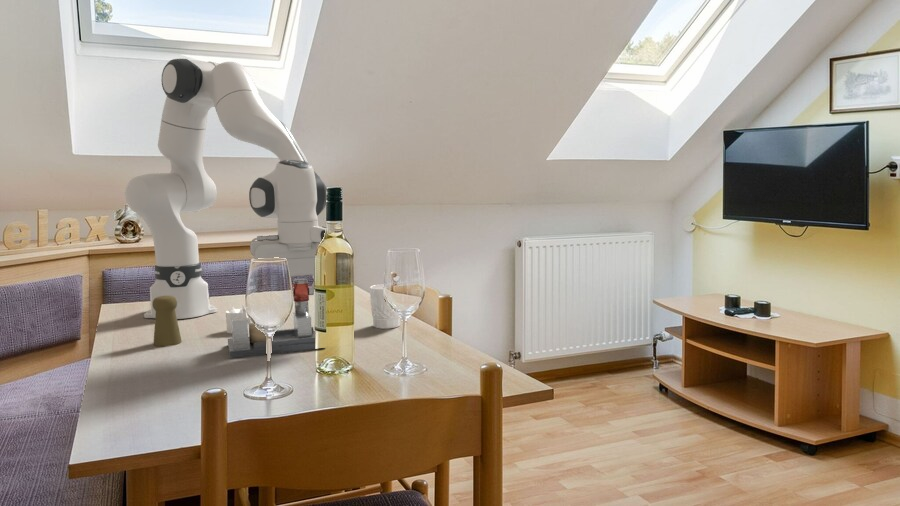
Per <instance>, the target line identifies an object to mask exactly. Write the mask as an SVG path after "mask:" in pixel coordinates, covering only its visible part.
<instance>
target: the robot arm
mask: <svg viewBox="0 0 900 506" xmlns="http://www.w3.org/2000/svg"><path fill="white" fill-rule="evenodd" d="M161 86H162V89H163V90H162V91H164V94H165V96H166V98H165V102H164V105H163V107H162V108H163V109H162V112H161V113H162V114H161V119H160V126H159V133H158V143H157V147H158V150H159V152H160V154H162V156H164V158H165V159H167V160H169V161H170V172H169V173H167V172H164V173H162V172H161V173H159V172H157V173H154V172H153V173H146V174H143V175H138V176H134V177H132V178H131V179H130V180H129V181H128V183H127V185H126V188H125V192H124V193H125V194H124V196H125V201H126V203H127V205H128V207H129V208H130V210H132V211H133V212H135V213H136V214H137V215H139V217H141V218H142V220H143V221H144V222H145V223H146V225H147V227H148V229H149V231H150V234H151V236H152V241H153V247H154V255H155V257H154V258H155V265H154V270H153V272H154V279H155V281H154V283H152V284H151V286H150V287H149V295H150V297H149V298H150V300H149V301H150V302H149V303H150V309H149V310H148V311H146V312H145V313H143V318H145V319H155V315H156V311H155V310H154V308H153V300H154V299H155V298H156V297H159V296H165V295H168V296H174V297H175V298H176V300H177V307H176V308H175V312H176V317H177V320H183V319H190V318H197V317H201V316H205V315H207V314H212V313H217V312H218V308H217V307H216V306H215V305H213V304H212V303H210V298H211V297H210V294H209V284H208V282H207V281H206V280H205V279H203V278H202V271H203V268H202V263H201V262H200V255H199V253H200V252H199V239H198V238H199V237H198V236H197V234H196V232H194V230H192V229H190V228H188V227H186V226H185V223H183V221H182V218H181V214H187V213H197V212H200V211H204V210H207V209H209V208H211V207H213V205H214V204H215V202H216V201H217V196H218V190H217V186H216V183H215V182H214V180H213V179H212V178H211V176H209V174H208V173H207V171H206V168H205V165H204V157H203V153H204V143H205V136H206V129H207V122H208V115H209V111H210V110H211V109H212V108H213V107H214V108H215V109H214V110H215V111H216V114H217V117H218V120H219V122H220V123H221V125H222V127H223V129H224V130H225V131H226V133H227V134H228V135H229V136H231V137H233V138H234V139H236V140H238V141H241V142H243V143H244V142H245V143H247V144H252V145H256V146H258V147H261V148H264V149H265V150H268V151H270V152H272V153H273V154H274V155H275V156H276V157H277V158H278V160H279V161H278V162H277V163H276V165H275V169H274V170H272V171H271V172H269V173H268V174H266V175H264V176H261V177H258V178H257V179H255V180H254V181H253V183H252V184H251V186H250V188H249V194H248V196H249V198H248V199H249V204H250V207H251V209H252V211H254V213H256V215H257V216H259V217H260V218H266V219H274V218H275V219H277V223H276V224H277V234H272V235H271V234H270V235H257V236H256V237H255V238H253V239H252V240H251V241H250V243H249V247H250V248H249V250H250V254H251V255H252V257H253V258H252V260H253V259H258V258H274V257H279V258H286V259H287V261H288V265H289V270H290V276H291V277H305V276H306V277H307V276H312V279H313V280H314V262H315V254H316V250H317V247H318V245H319V244H320V242H321V241H322V239H323V237H324V233H325V228H327V227H326V226H320V225H319V218H318V216H319V215H320V214H321V213H322V212H323V211H324V210H325V208H326V206H327V204H326V190H327V191H328V187H327V185H326V183H325V182H324V181H323V179H322V178H321V177H320V176H319V174H318V173H317V172H316V171H315V169H314V167H313V165H312V164H311V163H310V162H309V161H308V159H307V157H306V155H305V154H304V152H303V150H302V149H301V147H300V146H299V144H298V142H297V141H296V139H295V137H294V136H293V134H292V132H291V131H290V130H289V128H288V127H287V126H286V124H285V123H284V122H282V121H281V120H279V119H278V118H277V116H275V115H274V114H273V112H272V111H270V109H269V108H268V106H267V105H266V103H265V101H264V100H263V99H262V96H261V93H260V91H259V89H258V88H257V85H256V83H255V81H254V79H253V78H252V77H251V75H250V73H249V72H248V70H247V69H246V68H245V67H244V66H243V65H242V64H240V63H238V62H234V61H223V62H220V63H217V62H214V61H202V60H193V59H188V58H173V59H171V60H169V61H168V62H167V63H166V64H165V65H164V67H163V70H162V72H161ZM308 287H309V296H315V295H314V281H313V282H312V284H311V285H308ZM291 288H292V290H293V292H294V289H293V287H291ZM293 296H294V293H293Z"/></svg>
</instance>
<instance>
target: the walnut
mask: <svg viewBox="0 0 900 506" xmlns="http://www.w3.org/2000/svg"><path fill="white" fill-rule="evenodd" d="M248 337H249V341H250V343H252V344H254V343H257V342H266V336H265V334H264V333H263V332H261V331H260V330H258V329H257V328H256V327H255V325H254V324H253V322H251V323H250V324H249V329H248Z"/></svg>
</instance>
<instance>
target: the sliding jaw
mask: <svg viewBox="0 0 900 506" xmlns="http://www.w3.org/2000/svg"><path fill="white" fill-rule="evenodd" d="M292 288H293V289H294V292H293V293H294V296H293V300H292V301H293V302H294V312H293V313H292V316H293V329H294V334H295V336H296V338H307V337H312V328H311V327H312V316H311V315H310V312H309V311H310V310H309V301H310V295H309V282H308V278H295V279H293V282H292Z"/></svg>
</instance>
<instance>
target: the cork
mask: <svg viewBox="0 0 900 506" xmlns="http://www.w3.org/2000/svg"><path fill="white" fill-rule="evenodd" d="M176 307H177V300H176V298H175V297H174V296H168V295H165V296H159V297H156V298H155V299H154V300H153V308H154V310H155V311H156V315H155V318H154V330H153V331H154V333H153V346H156V347H170V346H176V345H180V344H181V343H182V342H183V340H182V337H181V332H180V327H179V323H178V322H179V321H178V319H177V317H176V312H175V308H176Z"/></svg>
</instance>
